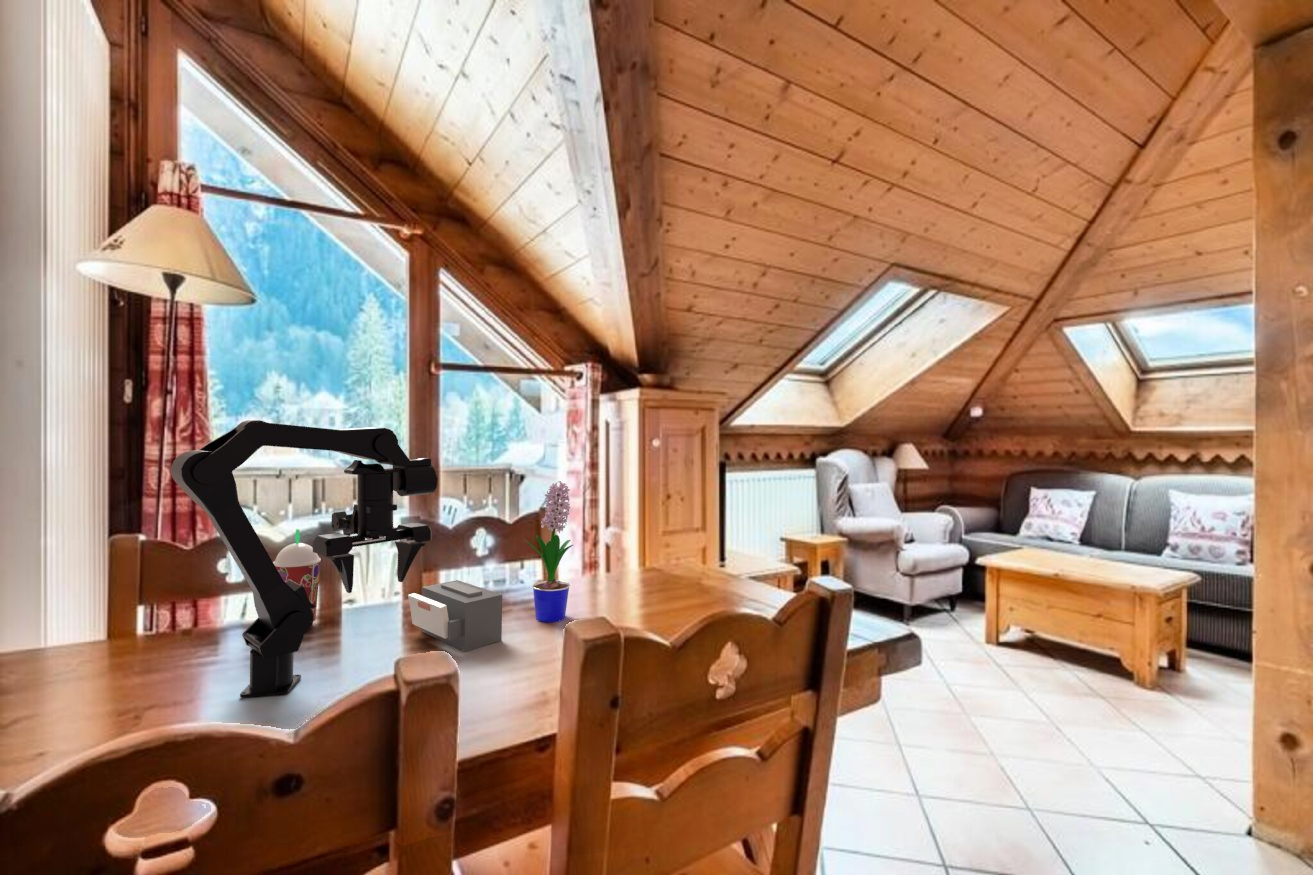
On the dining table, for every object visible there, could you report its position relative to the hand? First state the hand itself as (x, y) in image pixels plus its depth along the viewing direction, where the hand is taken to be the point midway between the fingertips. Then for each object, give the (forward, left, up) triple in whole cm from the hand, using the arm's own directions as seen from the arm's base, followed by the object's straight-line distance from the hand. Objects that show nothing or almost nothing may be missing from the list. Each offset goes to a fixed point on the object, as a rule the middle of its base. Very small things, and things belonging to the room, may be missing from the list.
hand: (375, 586), depth 106 cm
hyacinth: (+19, -31, -13) cm, 39 cm away
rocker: (+6, -9, -10) cm, 15 cm away
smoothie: (+21, +19, -13) cm, 31 cm away
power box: (+9, -13, -13) cm, 20 cm away
